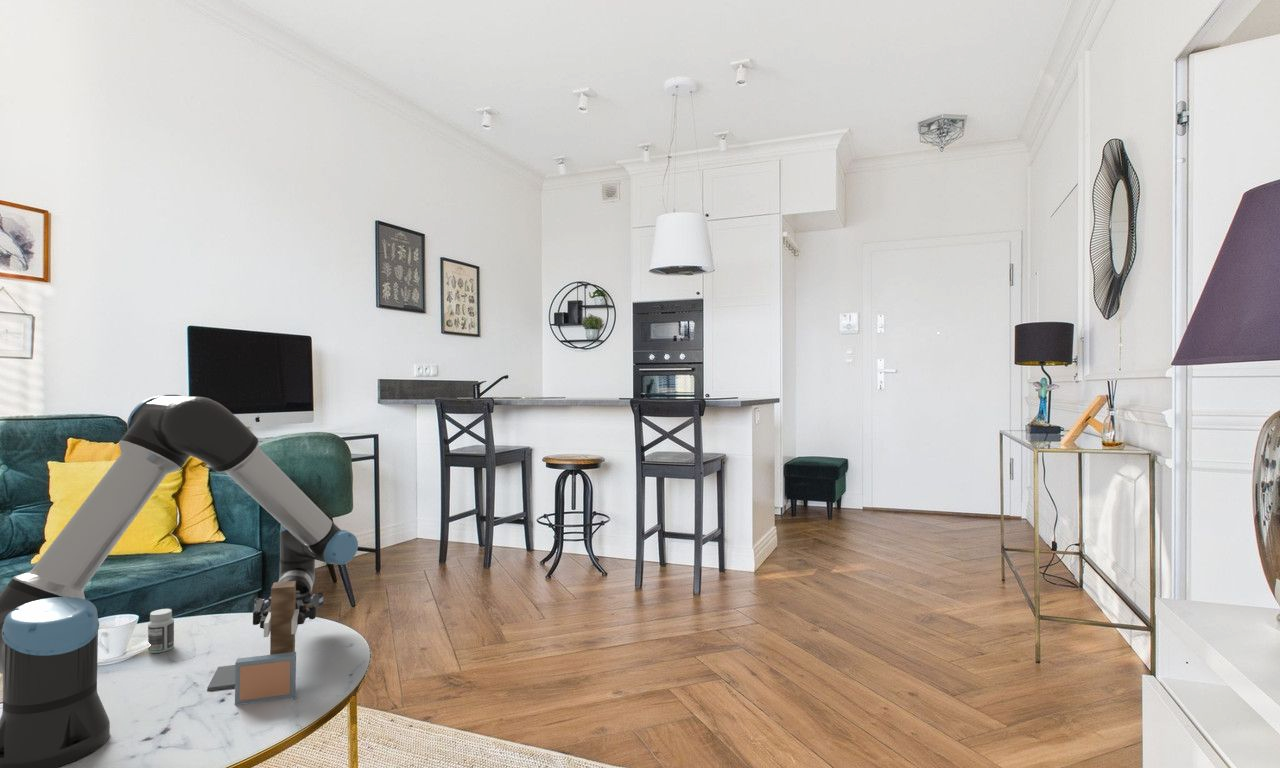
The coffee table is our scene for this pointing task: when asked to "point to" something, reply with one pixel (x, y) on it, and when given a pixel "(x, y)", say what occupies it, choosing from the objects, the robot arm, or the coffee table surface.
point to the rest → (223, 678)
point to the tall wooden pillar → (282, 617)
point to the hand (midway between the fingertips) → (279, 628)
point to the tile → (265, 678)
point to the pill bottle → (161, 631)
